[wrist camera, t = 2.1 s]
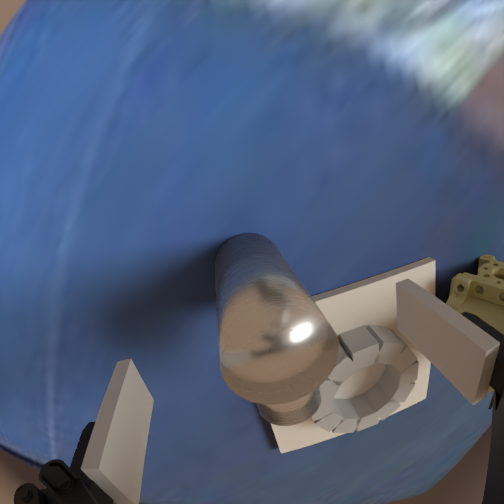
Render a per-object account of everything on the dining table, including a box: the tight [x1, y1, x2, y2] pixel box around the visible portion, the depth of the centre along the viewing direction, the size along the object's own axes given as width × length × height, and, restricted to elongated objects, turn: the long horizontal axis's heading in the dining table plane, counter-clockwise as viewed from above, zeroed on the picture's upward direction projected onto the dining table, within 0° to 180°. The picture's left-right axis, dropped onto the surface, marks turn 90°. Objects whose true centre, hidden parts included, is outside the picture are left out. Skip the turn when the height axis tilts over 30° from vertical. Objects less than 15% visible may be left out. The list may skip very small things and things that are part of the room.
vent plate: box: [270, 257, 435, 453], centre depth 26 cm, size 18×18×4 cm
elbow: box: [215, 233, 339, 426], centre depth 19 cm, size 8×5×12 cm, turn 14°
